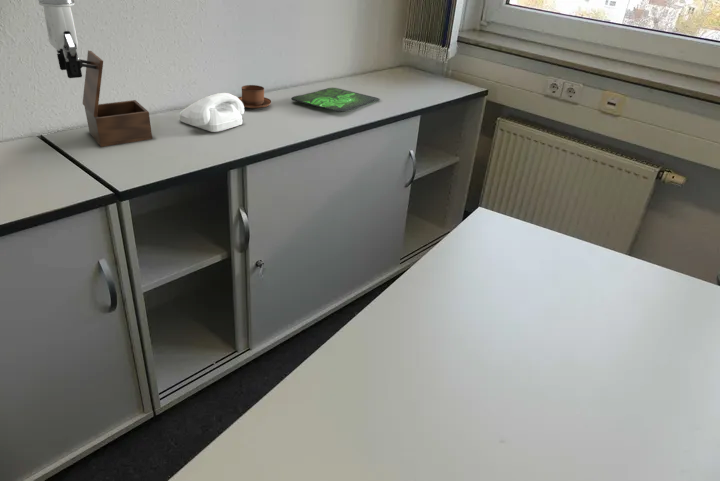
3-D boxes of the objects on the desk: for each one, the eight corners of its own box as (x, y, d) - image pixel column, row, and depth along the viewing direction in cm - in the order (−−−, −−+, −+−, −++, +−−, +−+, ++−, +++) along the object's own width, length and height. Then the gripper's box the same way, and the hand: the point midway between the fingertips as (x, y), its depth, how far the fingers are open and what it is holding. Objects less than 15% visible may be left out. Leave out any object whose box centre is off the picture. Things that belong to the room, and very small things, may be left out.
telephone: (253, 121, 169) (252, 91, 165) (205, 136, 154) (203, 103, 149) (216, 110, 176) (215, 81, 171) (167, 123, 161) (164, 92, 156)
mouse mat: (332, 88, 208) (332, 85, 207) (382, 99, 198) (382, 97, 198) (288, 100, 187) (288, 97, 186) (341, 114, 178) (341, 111, 177)
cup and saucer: (227, 104, 181) (226, 85, 178) (256, 99, 189) (255, 81, 186) (249, 113, 174) (249, 94, 171) (278, 107, 183) (278, 89, 180)
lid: (91, 50, 142) (66, 46, 139) (103, 61, 135) (78, 56, 131) (85, 104, 147) (61, 101, 144) (97, 117, 140) (72, 114, 136)
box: (139, 126, 159) (135, 99, 155) (152, 138, 151) (148, 111, 147) (89, 133, 151) (84, 105, 147) (101, 147, 144) (95, 118, 140)
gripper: (31, -8, 131) (47, 66, 141) (45, 4, 120) (62, 83, 129) (64, -8, 136) (78, 64, 145) (82, 3, 124) (96, 80, 133)
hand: (71, 72), depth 137 cm, fingers open, 7 cm apart
